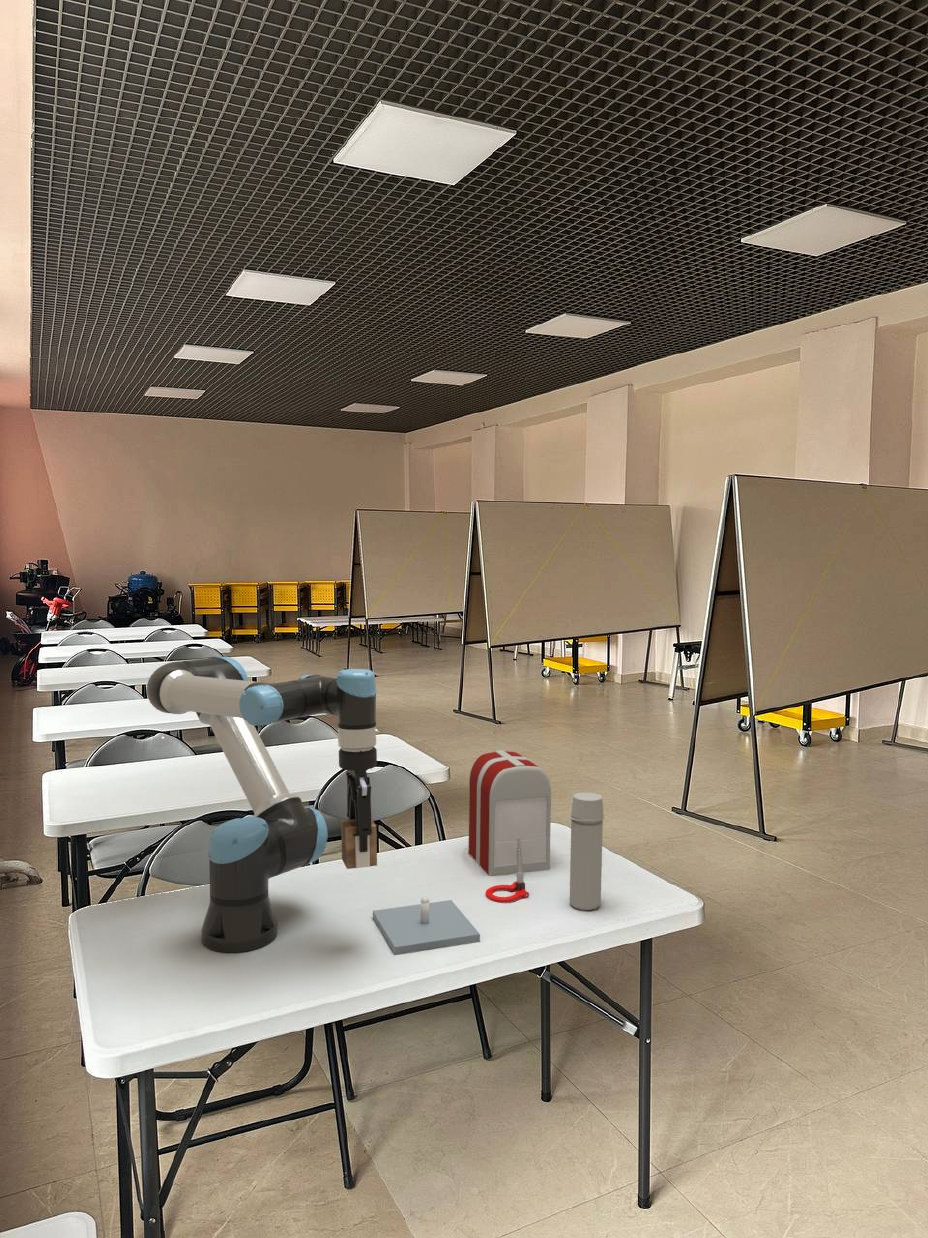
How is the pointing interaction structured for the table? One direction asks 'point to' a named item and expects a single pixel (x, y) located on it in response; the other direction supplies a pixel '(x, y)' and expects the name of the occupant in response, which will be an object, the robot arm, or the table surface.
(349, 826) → the block
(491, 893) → the tow hook
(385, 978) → the table surface
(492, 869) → the striped mailbox
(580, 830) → the water bottle
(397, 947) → the pin plate
